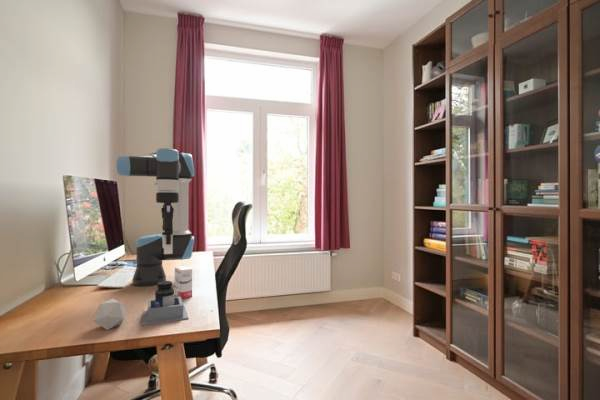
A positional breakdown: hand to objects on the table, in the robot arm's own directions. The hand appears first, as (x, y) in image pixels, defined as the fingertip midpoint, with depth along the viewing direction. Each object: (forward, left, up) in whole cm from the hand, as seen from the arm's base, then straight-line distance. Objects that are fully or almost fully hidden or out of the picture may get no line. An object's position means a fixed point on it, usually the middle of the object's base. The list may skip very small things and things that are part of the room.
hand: (167, 250), depth 115 cm
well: (+4, -1, -22) cm, 22 cm away
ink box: (-19, +7, -22) cm, 30 cm away
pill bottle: (+4, -1, -22) cm, 22 cm away
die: (+7, -17, -22) cm, 29 cm away
